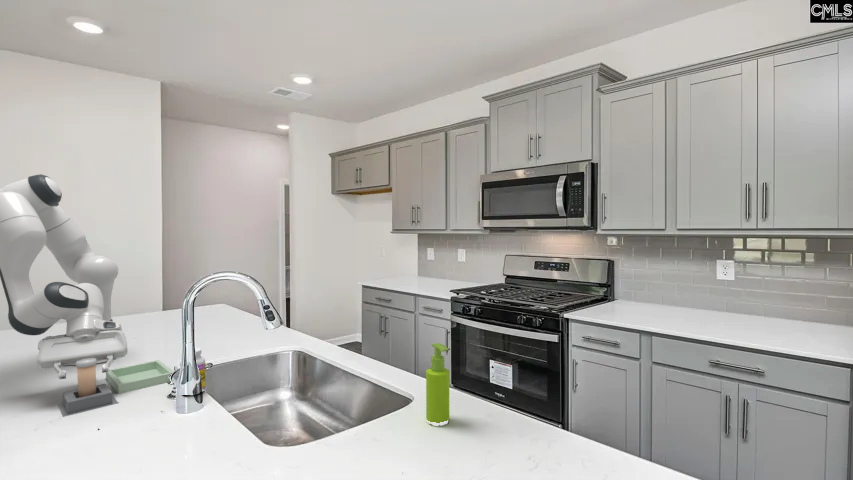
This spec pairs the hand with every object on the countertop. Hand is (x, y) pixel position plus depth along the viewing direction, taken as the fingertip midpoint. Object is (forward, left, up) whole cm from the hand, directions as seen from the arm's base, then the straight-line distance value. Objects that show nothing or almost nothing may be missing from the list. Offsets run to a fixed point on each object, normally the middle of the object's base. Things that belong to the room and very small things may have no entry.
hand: (84, 374), depth 123 cm
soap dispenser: (+77, +61, -9) cm, 99 cm away
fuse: (+1, 0, -8) cm, 8 cm away
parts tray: (-10, +15, -9) cm, 20 cm away
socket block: (+1, 0, -9) cm, 9 cm away
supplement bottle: (+11, +24, -9) cm, 28 cm away
